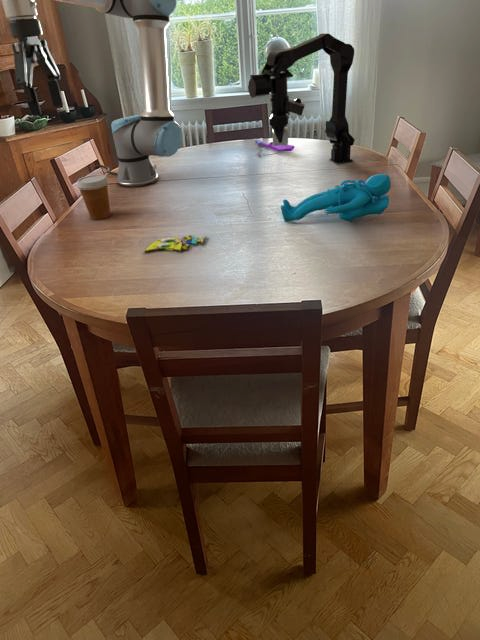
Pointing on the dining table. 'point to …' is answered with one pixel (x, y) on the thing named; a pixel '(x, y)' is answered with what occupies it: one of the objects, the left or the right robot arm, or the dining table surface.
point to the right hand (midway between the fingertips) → (280, 140)
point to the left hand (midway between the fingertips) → (48, 110)
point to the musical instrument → (275, 147)
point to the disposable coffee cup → (95, 195)
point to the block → (284, 140)
